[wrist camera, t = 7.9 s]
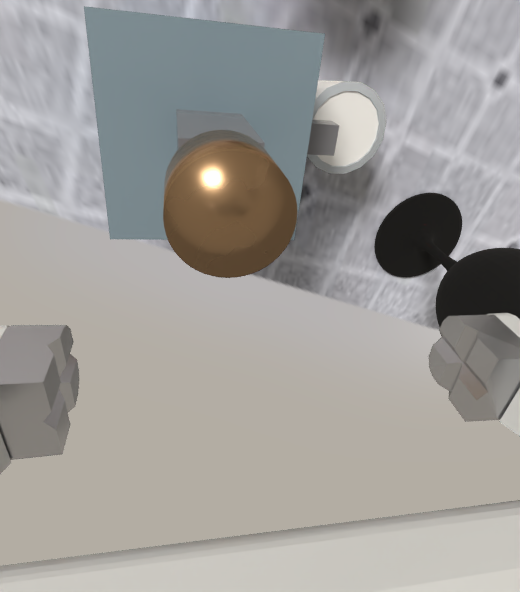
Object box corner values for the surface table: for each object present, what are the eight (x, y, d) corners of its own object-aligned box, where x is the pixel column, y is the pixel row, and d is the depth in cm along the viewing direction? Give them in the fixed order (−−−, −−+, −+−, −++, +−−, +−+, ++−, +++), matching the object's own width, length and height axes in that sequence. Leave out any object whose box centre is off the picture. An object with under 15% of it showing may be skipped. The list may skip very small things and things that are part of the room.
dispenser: (307, 34, 34) (448, 44, 17) (288, 179, 40) (376, 294, 23) (116, 13, 31) (47, -2, 14) (128, 173, 37) (92, 300, 20)
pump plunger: (253, 103, 23) (306, 153, 14) (246, 188, 25) (288, 276, 16) (164, 96, 22) (160, 146, 13) (167, 185, 24) (165, 278, 15)
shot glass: (320, 167, 40) (346, 190, 34) (266, 124, 37) (284, 142, 31) (368, 104, 38) (404, 119, 32) (314, 53, 35) (343, 59, 29)
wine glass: (367, 279, 49) (466, 408, 32) (383, 194, 43) (514, 298, 27) (446, 272, 50) (580, 392, 34) (472, 190, 45) (647, 285, 28)
